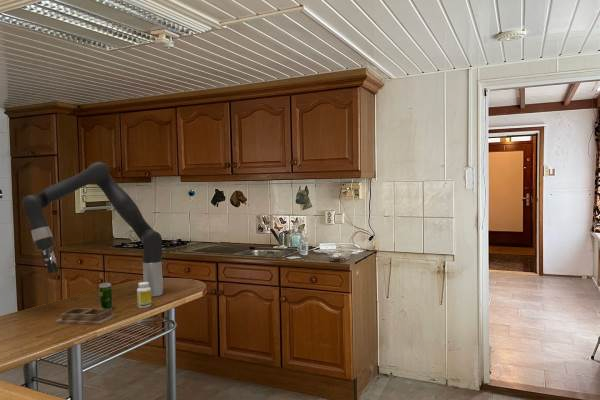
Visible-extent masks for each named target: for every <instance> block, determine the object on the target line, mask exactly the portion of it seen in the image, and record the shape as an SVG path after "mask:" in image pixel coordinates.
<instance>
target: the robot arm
mask: <svg viewBox="0 0 600 400" xmlns="http://www.w3.org/2000/svg"><path fill="white" fill-rule="evenodd" d="M93 183H94V184H96V185H97V187H99V189H100V190H101V191H102V192H103V193H104V195H105V196H106V198H107V200H108V201H109V203H110V205H112V207H113V208H114V210H115V211H116V212H117V214H118V215H119V216H120V217H121V218H122V219H123V220H124V222H125V223H126V224H128V226H130V228H131V229H132V230H133V231H134V232H135V235H137V237H138V239H139V241H140V242H141V244H142V245H143V254H142V255H143V256H142V271H143V272H142V275H143V282H149V286H148V287H150V288H151V298H152V297H159V296H162V295H163V294H164V282H163V281H164V280H163V279H164V278H163V266H162V265H163V264H162V263H163V261H162V259H163V238H162V235H161V233H159V232H158V231H155V229H153V227H151V225H149V223H148V222H147V221H146V220H145V218H144V216H143V214H142V212H141V211H140V208H139V207H138V205H137V204H136V202H135V200H133V199H132V197H130V195H129V193H127V191H125V190H124V189H123V188H121V187H120V185H119V184H117V182H116V181H115V179H114V178H113V177H112V175H111V174H110V168H109V165H107V164H106V163H104V162H101V161H95V162H92V163H91V164H89V165H88V167H87V168H86V169H84V170H83V171H80V172H79V173H77V174H76V175H73V176H71V177H68V178H66V179H64V180H60V181H58V182H56V183H55V184H54V183H53V184H52V185H50V186H47V187H46V188H44V189H43V190H42V191H41V192H39V193H37V194H35V195H33V194H28V195H26V196H24V197H23V199H22V201H21V204H22V205H21V206H22V208H23V211H24V214H25V216H26V218H27V222H28V226H29V228H30V232H31V236H32V237H31V238H32V240H33V243H34V246H35V249H36V251H38V252H39V251H40V254H41V257H42V260H43V263H44V265H45V266H46V268H47V271H48V274H53V273H54V274H56V273H58V272H59V269H58V265H57V262H58V261H57V258H56V256H55V255H56V254H55V252H54V250H53V249H52V248H53V247H55V246H56V244H55V241H54V237H53V234H52V231H51V229H50V226H49V223H48V220H47V218H46V216H45V214H44V211H43V209H44V208H46V207H47V206H48V205H50V204H51V203H53V202H54V203H55V202H56V201H59V200H60V199H62V198H65V197H66V196H68V195H70V194H72V193H74V192H76V191H77V190H79V189H81V188H83V187H86V186H88V185H91V184H93Z"/></svg>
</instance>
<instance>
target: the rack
mask: <svg viewBox="0 0 600 400" xmlns="http://www.w3.org/2000/svg"><path fill="white" fill-rule="evenodd" d="M60 314H61V317H60V318H58V319H55V320H54V324H61V325H64V324H65V325H91V326H102V325H103V324H105V323H107V322H109V321H111V320H112V319H115V318H116V317H118V313H113V312H112V310H111V309H100V308H87V307H86V308H84V307H74V308H72V309H70V310H67V311H65V312H63V313H60Z"/></svg>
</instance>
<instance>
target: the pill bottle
mask: <svg viewBox="0 0 600 400" xmlns="http://www.w3.org/2000/svg"><path fill="white" fill-rule="evenodd" d="M137 284H138V285H137V286H138V287H137V289H136V301H137V308H139V309H146V308H150V307H151V306H152V297H151V288H150V287H148V286H149V282H144V281H143V282H141V281H140V282H138V283H137Z"/></svg>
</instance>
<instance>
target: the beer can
mask: <svg viewBox="0 0 600 400" xmlns="http://www.w3.org/2000/svg"><path fill="white" fill-rule="evenodd" d="M112 289H113V287H112V283H111V282H102V283H99V286H98V292H99V297H98V298H99V309H111V311H112V310H113V307H114V306H113V304H114V303H113V290H112Z"/></svg>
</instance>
